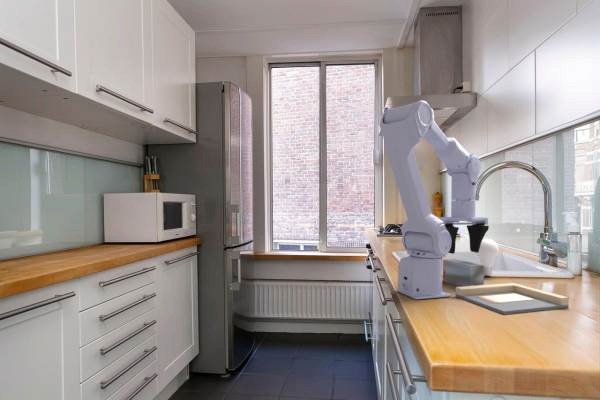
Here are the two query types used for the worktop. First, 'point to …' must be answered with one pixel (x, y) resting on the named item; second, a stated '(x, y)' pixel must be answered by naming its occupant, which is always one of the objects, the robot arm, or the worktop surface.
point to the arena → (511, 298)
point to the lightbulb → (488, 255)
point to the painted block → (462, 273)
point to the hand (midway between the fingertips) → (462, 252)
